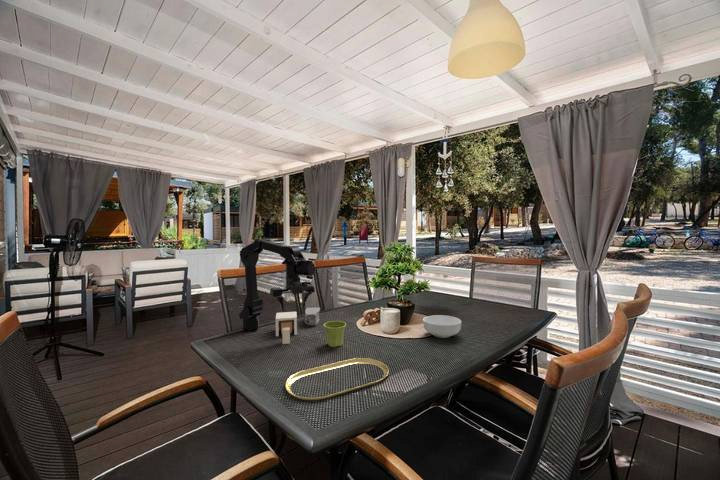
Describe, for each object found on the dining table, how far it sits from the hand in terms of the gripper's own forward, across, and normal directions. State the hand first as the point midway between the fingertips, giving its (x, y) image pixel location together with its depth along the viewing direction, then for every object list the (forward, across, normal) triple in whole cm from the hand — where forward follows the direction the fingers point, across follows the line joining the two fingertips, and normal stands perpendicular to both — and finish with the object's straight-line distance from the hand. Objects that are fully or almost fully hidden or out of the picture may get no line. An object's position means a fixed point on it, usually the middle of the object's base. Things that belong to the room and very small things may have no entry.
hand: (293, 309), depth 140 cm
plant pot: (+13, +12, -17) cm, 25 cm away
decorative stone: (+13, +16, +17) cm, 26 cm away
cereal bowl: (+13, +60, -31) cm, 68 cm away
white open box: (+13, 0, +9) cm, 16 cm away
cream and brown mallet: (+13, -2, +3) cm, 13 cm away
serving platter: (+13, +1, -44) cm, 46 cm away
